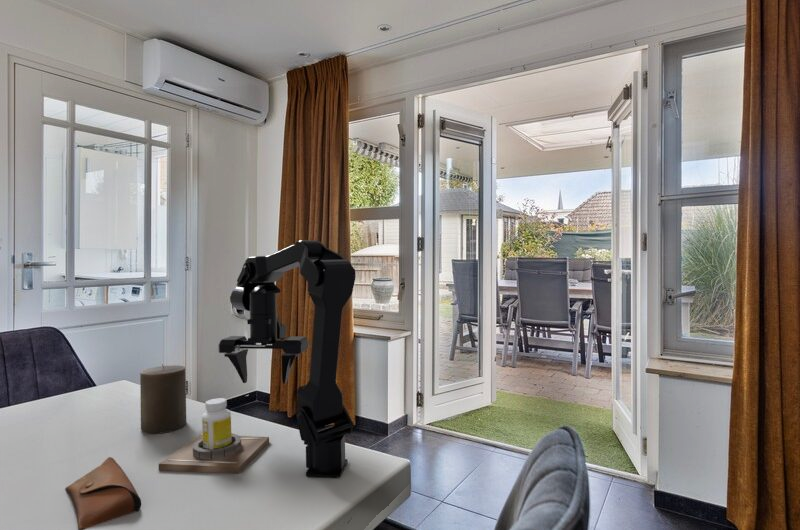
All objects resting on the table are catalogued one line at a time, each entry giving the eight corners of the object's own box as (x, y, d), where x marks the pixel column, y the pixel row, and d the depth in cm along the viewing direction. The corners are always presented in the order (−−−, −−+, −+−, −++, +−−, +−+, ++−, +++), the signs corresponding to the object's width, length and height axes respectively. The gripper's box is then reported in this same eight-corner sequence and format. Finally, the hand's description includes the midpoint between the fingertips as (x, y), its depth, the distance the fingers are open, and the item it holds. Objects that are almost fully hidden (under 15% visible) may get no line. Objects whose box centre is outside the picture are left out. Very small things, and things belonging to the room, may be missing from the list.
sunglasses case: (60, 487, 80) (83, 449, 82) (101, 494, 84) (122, 458, 86) (78, 532, 67) (104, 485, 69) (125, 538, 71) (149, 494, 73)
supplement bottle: (236, 443, 94) (235, 396, 94) (223, 455, 89) (222, 405, 89) (211, 443, 95) (210, 396, 95) (197, 454, 90) (196, 405, 90)
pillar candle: (173, 434, 104) (172, 368, 103) (131, 434, 104) (130, 368, 104) (194, 419, 113) (193, 359, 113) (155, 419, 113) (154, 359, 113)
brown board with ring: (269, 442, 98) (268, 430, 98) (238, 473, 84) (238, 459, 84) (199, 439, 100) (199, 427, 100) (158, 469, 86) (158, 455, 86)
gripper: (315, 308, 108) (316, 374, 108) (240, 308, 110) (241, 373, 110) (299, 315, 97) (300, 388, 97) (216, 315, 99) (218, 386, 99)
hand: (264, 383), depth 101 cm, fingers open, 9 cm apart
